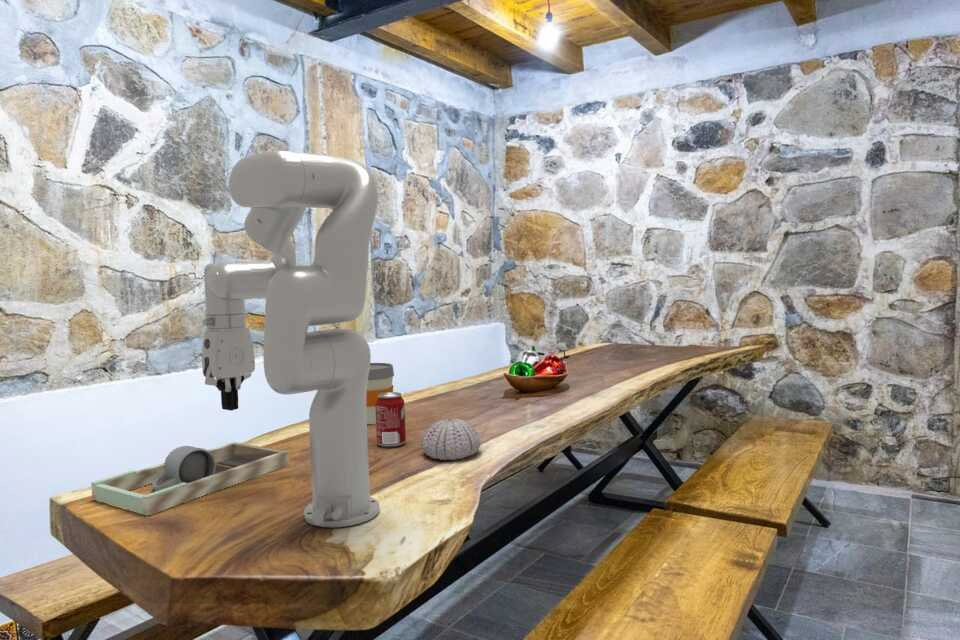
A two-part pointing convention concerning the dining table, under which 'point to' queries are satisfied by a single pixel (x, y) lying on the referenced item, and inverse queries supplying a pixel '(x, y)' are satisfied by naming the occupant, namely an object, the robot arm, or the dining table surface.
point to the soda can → (390, 419)
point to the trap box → (240, 456)
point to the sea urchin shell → (450, 440)
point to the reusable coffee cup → (377, 386)
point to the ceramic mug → (185, 467)
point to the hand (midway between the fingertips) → (230, 408)
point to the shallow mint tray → (126, 493)
